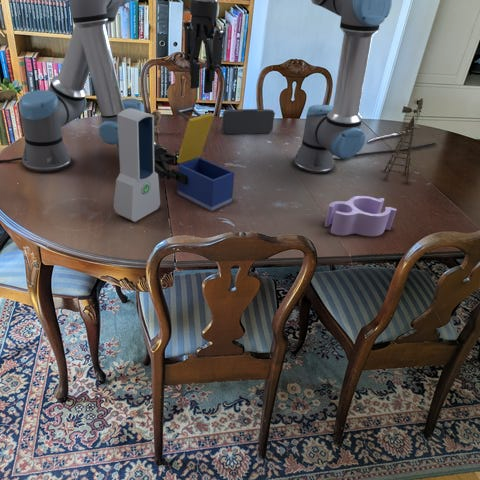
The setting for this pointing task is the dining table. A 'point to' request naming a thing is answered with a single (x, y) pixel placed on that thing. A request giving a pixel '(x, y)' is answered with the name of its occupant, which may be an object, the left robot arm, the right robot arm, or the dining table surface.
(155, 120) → the lion figurine
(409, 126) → the miniature windmill
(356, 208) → the clip
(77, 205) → the dining table surface
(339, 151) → the right robot arm
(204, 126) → the lid
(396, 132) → the sword
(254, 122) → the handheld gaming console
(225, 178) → the chest
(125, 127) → the electronic device
